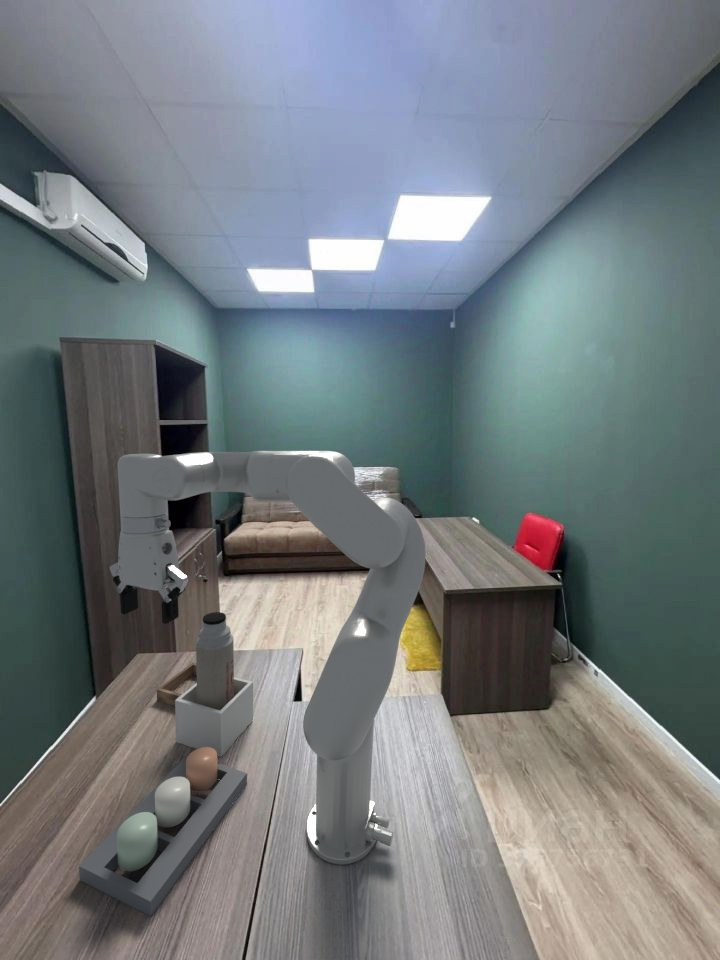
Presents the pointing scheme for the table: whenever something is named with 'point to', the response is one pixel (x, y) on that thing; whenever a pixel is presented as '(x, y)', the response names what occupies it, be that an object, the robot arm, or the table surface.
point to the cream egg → (172, 801)
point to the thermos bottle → (215, 662)
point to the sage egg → (137, 841)
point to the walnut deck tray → (175, 685)
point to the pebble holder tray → (163, 844)
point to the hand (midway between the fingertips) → (149, 615)
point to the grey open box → (213, 718)
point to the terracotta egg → (201, 768)
